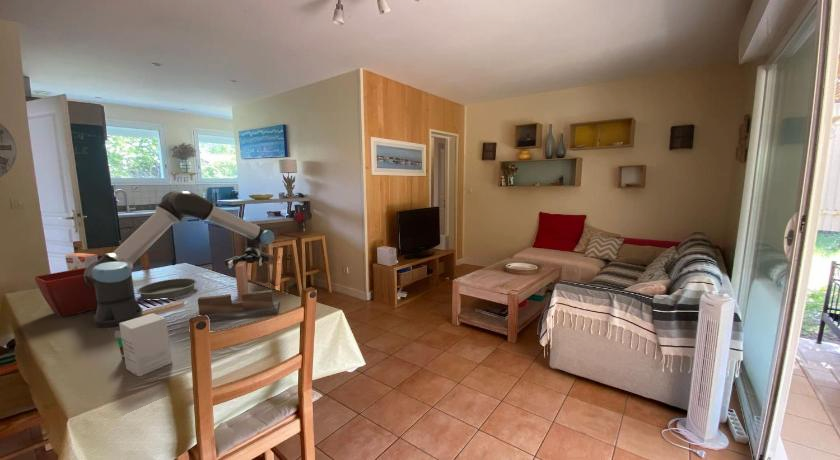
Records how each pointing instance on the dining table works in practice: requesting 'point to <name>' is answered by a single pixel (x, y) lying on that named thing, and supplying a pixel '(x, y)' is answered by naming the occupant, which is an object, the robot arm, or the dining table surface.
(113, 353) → the dining table surface
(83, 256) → the cracker box
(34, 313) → the dining table surface
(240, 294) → the halving plate
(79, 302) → the plant pot
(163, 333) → the supplement box
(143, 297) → the cake pan
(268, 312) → the cross board
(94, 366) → the dining table surface
